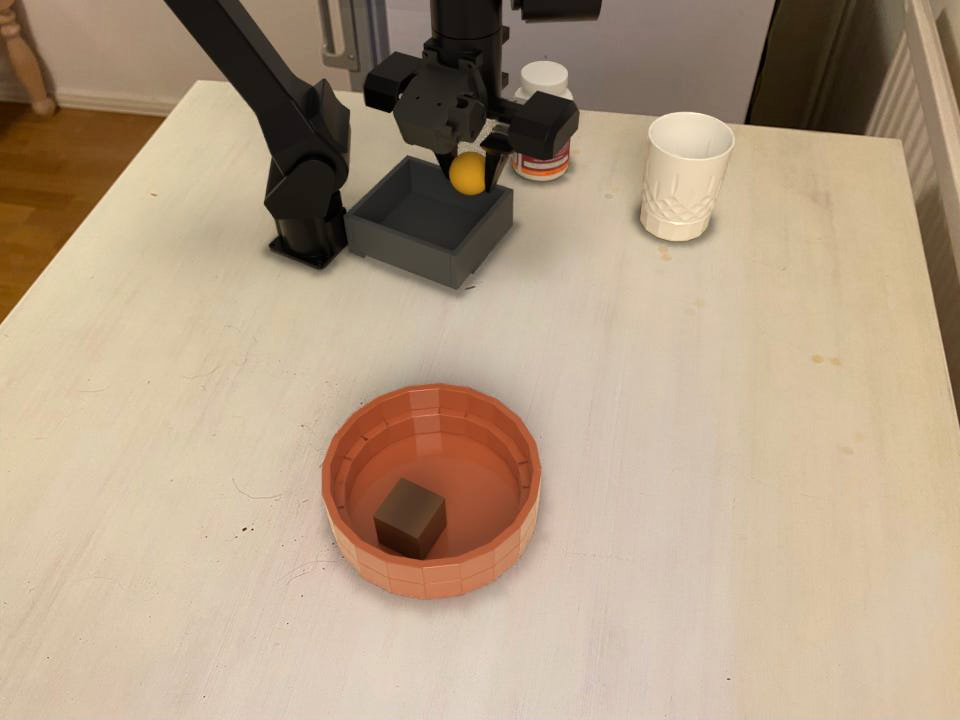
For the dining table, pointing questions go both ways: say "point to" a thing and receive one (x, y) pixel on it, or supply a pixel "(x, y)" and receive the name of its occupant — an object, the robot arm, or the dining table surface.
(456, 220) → the bin
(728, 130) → the white cup
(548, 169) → the pill bottle
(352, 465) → the bowl
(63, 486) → the dining table surface
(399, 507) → the toy block
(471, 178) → the toy ball
